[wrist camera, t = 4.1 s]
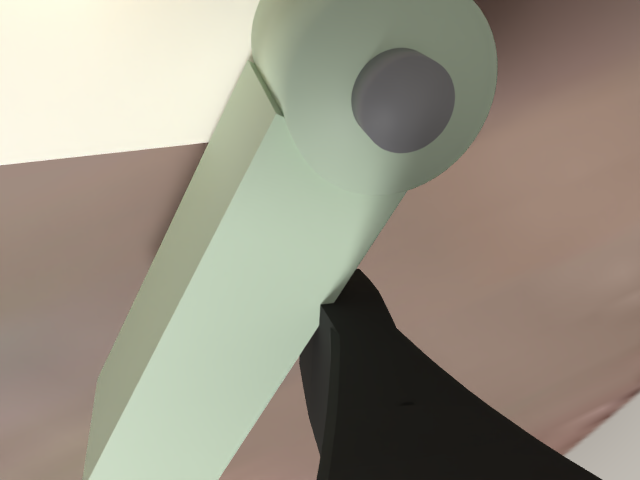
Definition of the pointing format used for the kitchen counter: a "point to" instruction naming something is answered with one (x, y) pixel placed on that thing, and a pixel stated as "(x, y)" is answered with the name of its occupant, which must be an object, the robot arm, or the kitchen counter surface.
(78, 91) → the stool seat
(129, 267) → the kitchen counter surface
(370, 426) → the robot arm
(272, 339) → the hinged leg
